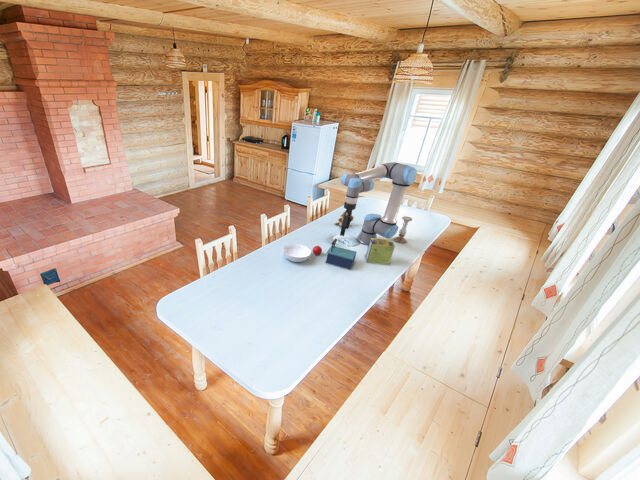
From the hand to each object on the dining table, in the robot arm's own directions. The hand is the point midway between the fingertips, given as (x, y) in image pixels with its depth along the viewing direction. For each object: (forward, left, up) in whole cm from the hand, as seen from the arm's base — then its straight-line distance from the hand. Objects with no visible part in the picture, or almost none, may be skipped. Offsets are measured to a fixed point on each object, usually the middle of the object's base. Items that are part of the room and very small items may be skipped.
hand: (344, 231), depth 219 cm
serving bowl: (+11, -28, -25) cm, 39 cm away
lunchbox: (-1, +2, -24) cm, 24 cm away
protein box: (-19, +25, -25) cm, 40 cm away
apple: (-3, -17, -21) cm, 27 cm away
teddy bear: (-69, -12, -25) cm, 74 cm away
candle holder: (-64, +36, -25) cm, 77 cm away
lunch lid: (-1, +1, -17) cm, 17 cm away
